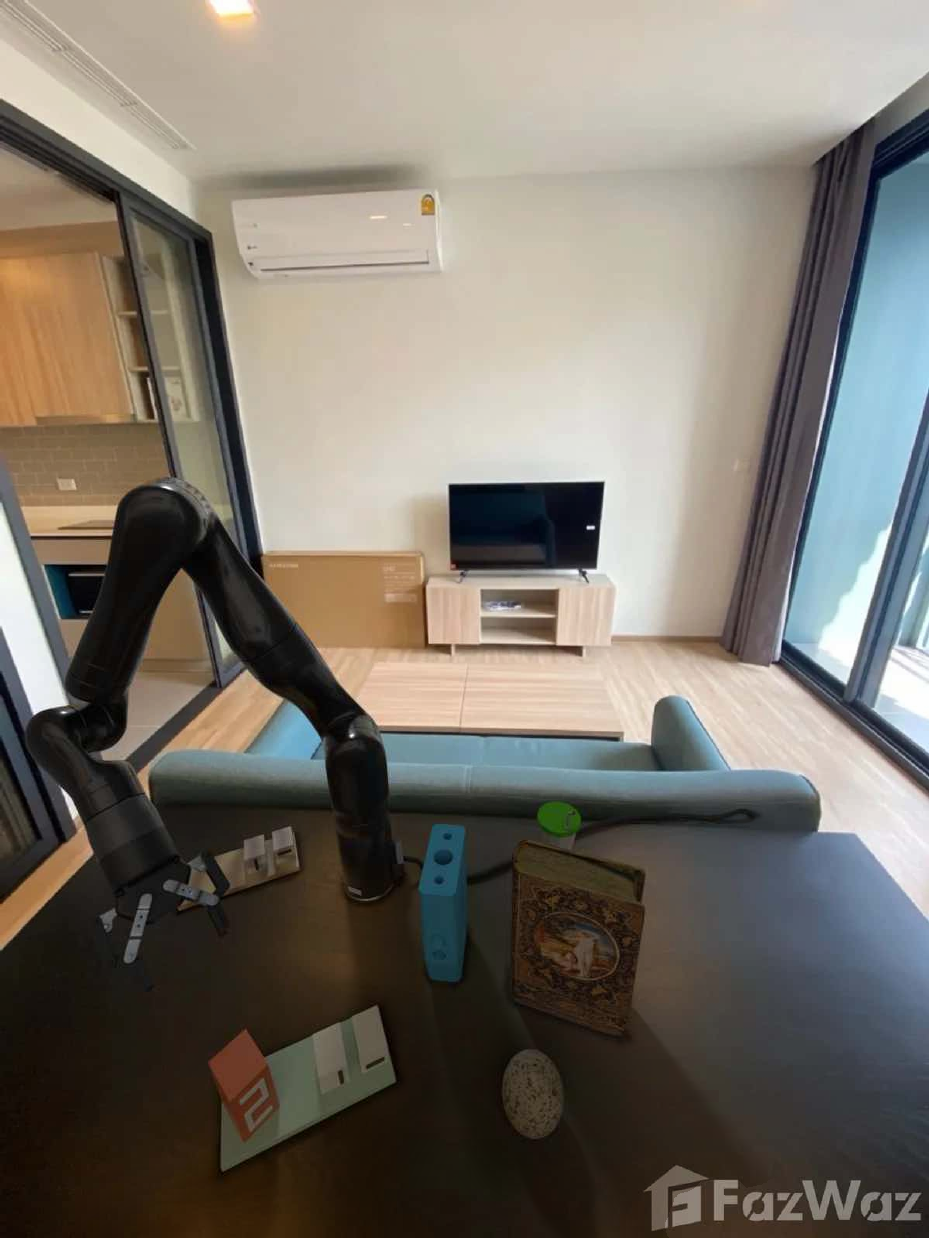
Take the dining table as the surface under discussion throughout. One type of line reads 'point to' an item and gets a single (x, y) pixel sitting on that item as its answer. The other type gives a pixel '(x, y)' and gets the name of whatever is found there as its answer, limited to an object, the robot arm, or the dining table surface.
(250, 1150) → the switch panel board
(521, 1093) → the decorative egg
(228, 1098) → the orange red rectangular block
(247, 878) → the beige switch panel
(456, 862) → the block
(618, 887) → the book
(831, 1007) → the dining table surface
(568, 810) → the cup
